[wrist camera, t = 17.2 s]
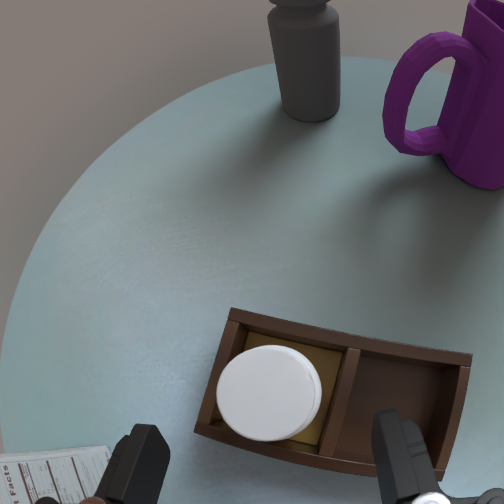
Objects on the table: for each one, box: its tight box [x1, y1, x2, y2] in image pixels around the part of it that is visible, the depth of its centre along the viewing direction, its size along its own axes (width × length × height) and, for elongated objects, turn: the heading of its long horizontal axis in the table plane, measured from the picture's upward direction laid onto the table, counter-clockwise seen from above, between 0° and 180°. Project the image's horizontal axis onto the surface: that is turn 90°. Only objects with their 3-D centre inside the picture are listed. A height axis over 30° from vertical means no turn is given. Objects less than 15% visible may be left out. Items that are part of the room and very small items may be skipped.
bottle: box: [267, 0, 340, 122], centre depth 23 cm, size 6×6×15 cm
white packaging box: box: [0, 445, 111, 504], centre depth 13 cm, size 7×7×13 cm
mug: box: [382, 0, 504, 190], centre depth 18 cm, size 9×16×15 cm, turn 97°
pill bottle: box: [216, 345, 322, 441], centre depth 16 cm, size 5×5×8 cm
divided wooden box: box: [194, 307, 473, 482], centre depth 18 cm, size 8×15×4 cm, turn 74°
